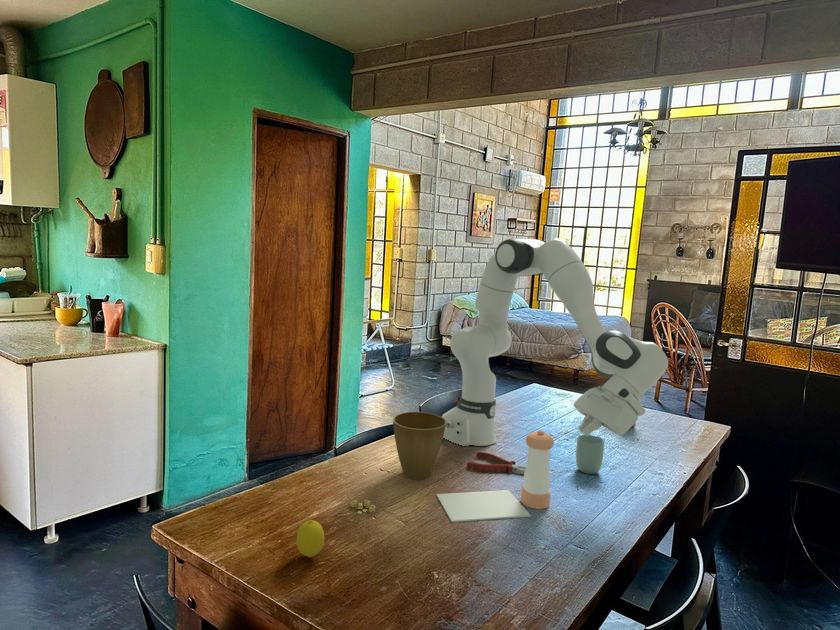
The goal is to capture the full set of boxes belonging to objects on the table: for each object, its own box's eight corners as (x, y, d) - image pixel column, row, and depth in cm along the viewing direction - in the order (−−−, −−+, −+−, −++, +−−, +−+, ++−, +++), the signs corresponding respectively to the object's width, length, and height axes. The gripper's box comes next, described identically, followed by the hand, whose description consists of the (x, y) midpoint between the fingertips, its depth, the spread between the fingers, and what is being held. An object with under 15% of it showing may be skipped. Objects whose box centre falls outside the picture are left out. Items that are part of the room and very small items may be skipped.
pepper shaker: (518, 505, 141) (523, 432, 138) (523, 493, 147) (529, 424, 145) (546, 511, 138) (553, 437, 136) (551, 499, 145) (557, 429, 142)
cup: (603, 478, 160) (606, 445, 159) (575, 474, 162) (578, 441, 161) (600, 468, 168) (602, 436, 167) (573, 464, 169) (576, 433, 168)
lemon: (298, 549, 115) (298, 513, 114) (324, 549, 116) (325, 513, 115) (294, 565, 110) (295, 527, 109) (322, 564, 110) (323, 527, 109)
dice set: (350, 508, 136) (350, 500, 136) (370, 505, 138) (370, 498, 138) (355, 517, 131) (355, 510, 131) (375, 515, 133) (376, 507, 133)
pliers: (533, 485, 154) (534, 476, 154) (465, 470, 162) (465, 462, 162) (541, 470, 165) (542, 462, 165) (477, 457, 173) (477, 449, 172)
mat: (508, 491, 148) (508, 489, 148) (530, 516, 135) (530, 515, 135) (436, 495, 144) (436, 494, 144) (451, 522, 130) (451, 520, 130)
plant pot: (379, 473, 156) (381, 418, 154) (415, 459, 167) (418, 408, 165) (418, 490, 146) (421, 432, 144) (453, 475, 157) (457, 420, 155)
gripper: (590, 377, 153) (556, 412, 152) (635, 396, 133) (596, 437, 132) (604, 392, 155) (569, 427, 154) (650, 414, 135) (611, 454, 134)
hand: (582, 432), depth 143 cm, fingers closed
